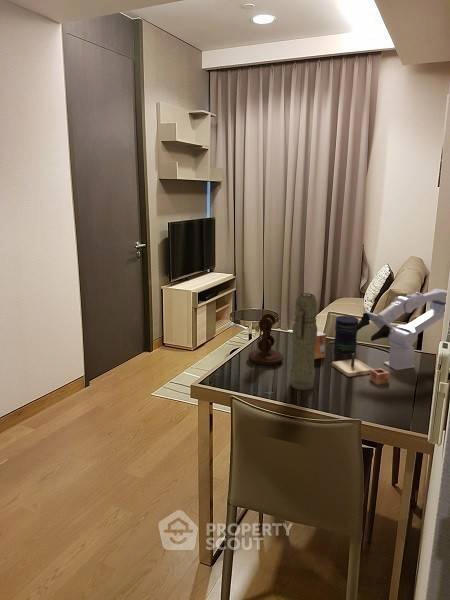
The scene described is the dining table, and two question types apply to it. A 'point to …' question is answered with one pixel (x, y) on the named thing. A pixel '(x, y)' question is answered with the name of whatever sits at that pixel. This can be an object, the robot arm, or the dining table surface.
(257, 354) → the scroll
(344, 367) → the lacing board
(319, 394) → the dining table surface
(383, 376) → the bead
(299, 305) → the grey-green tall column
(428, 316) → the robot arm
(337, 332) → the storage jar
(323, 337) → the small box
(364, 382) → the dining table surface
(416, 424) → the dining table surface
